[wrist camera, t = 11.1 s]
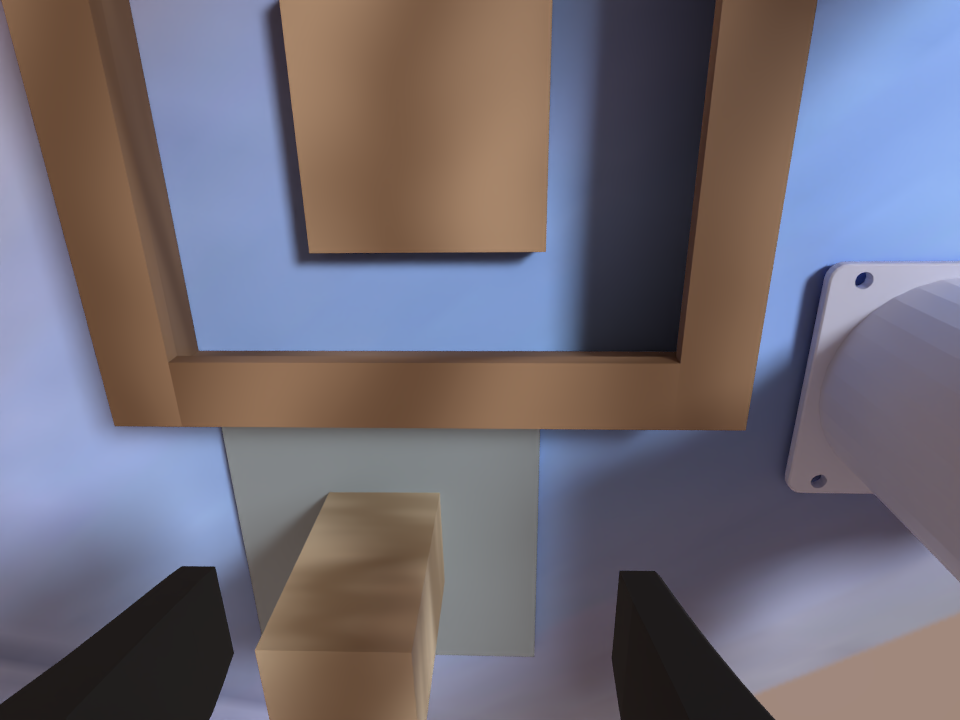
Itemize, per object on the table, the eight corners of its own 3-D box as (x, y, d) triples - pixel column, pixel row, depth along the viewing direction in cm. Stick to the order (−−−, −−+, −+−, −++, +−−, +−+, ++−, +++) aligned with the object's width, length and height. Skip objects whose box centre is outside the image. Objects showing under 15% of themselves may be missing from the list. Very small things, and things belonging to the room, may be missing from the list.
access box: (792, -248, 14) (877, -356, 11) (707, 379, 20) (745, 430, 17) (45, -219, 15) (-82, -311, 12) (175, 377, 21) (114, 426, 18)
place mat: (539, 406, 21) (540, 411, 20) (533, 648, 25) (534, 656, 25) (223, 404, 21) (218, 409, 21) (268, 643, 25) (264, 650, 25)
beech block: (439, 492, 22) (411, 652, 15) (444, 581, 23) (420, 761, 17) (329, 492, 22) (254, 649, 15) (341, 580, 23) (277, 758, 17)
